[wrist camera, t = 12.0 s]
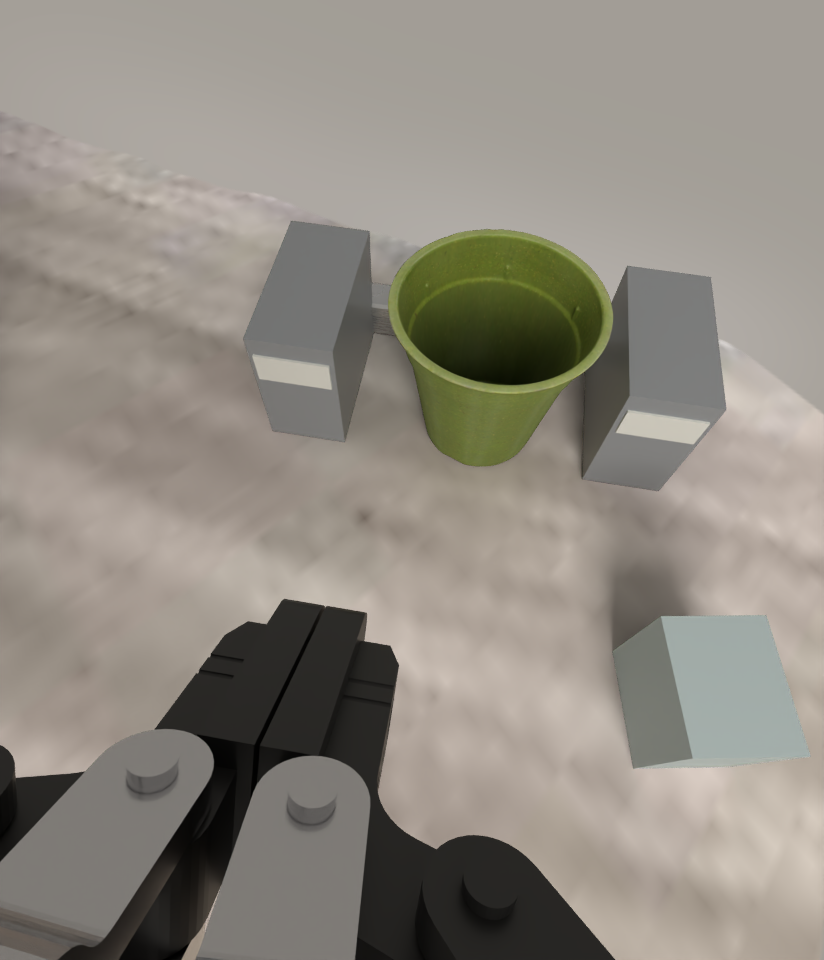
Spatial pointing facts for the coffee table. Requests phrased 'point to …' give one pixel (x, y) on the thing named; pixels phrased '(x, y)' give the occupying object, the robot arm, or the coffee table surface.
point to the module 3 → (706, 694)
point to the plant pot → (495, 335)
